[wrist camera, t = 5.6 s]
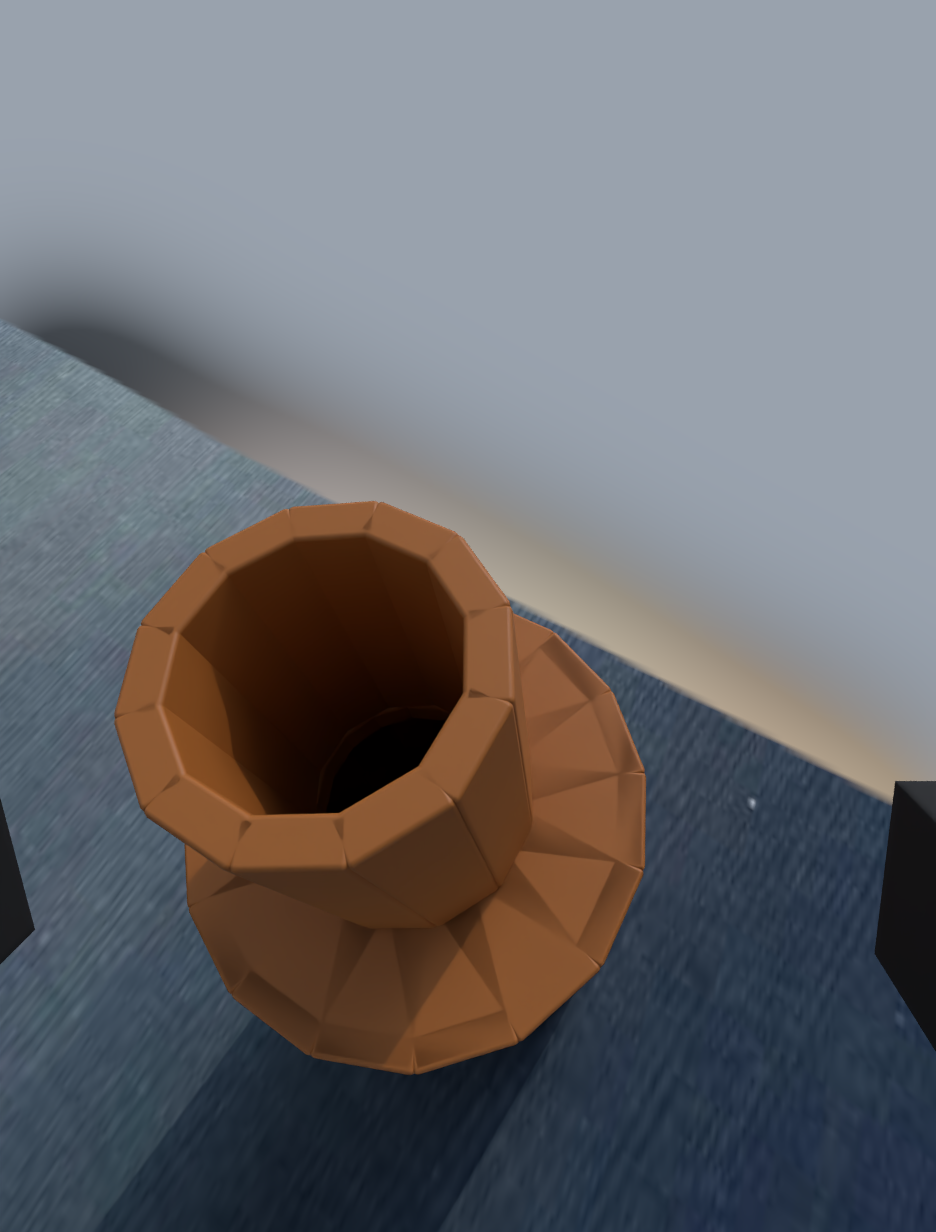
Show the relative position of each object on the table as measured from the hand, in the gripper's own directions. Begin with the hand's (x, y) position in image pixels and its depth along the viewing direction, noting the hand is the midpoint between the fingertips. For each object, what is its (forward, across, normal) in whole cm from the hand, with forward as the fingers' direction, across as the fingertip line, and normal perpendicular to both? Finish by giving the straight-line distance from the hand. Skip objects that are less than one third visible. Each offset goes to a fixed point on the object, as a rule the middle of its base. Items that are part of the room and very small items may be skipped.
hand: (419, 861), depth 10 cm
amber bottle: (+6, 0, -6) cm, 8 cm away
